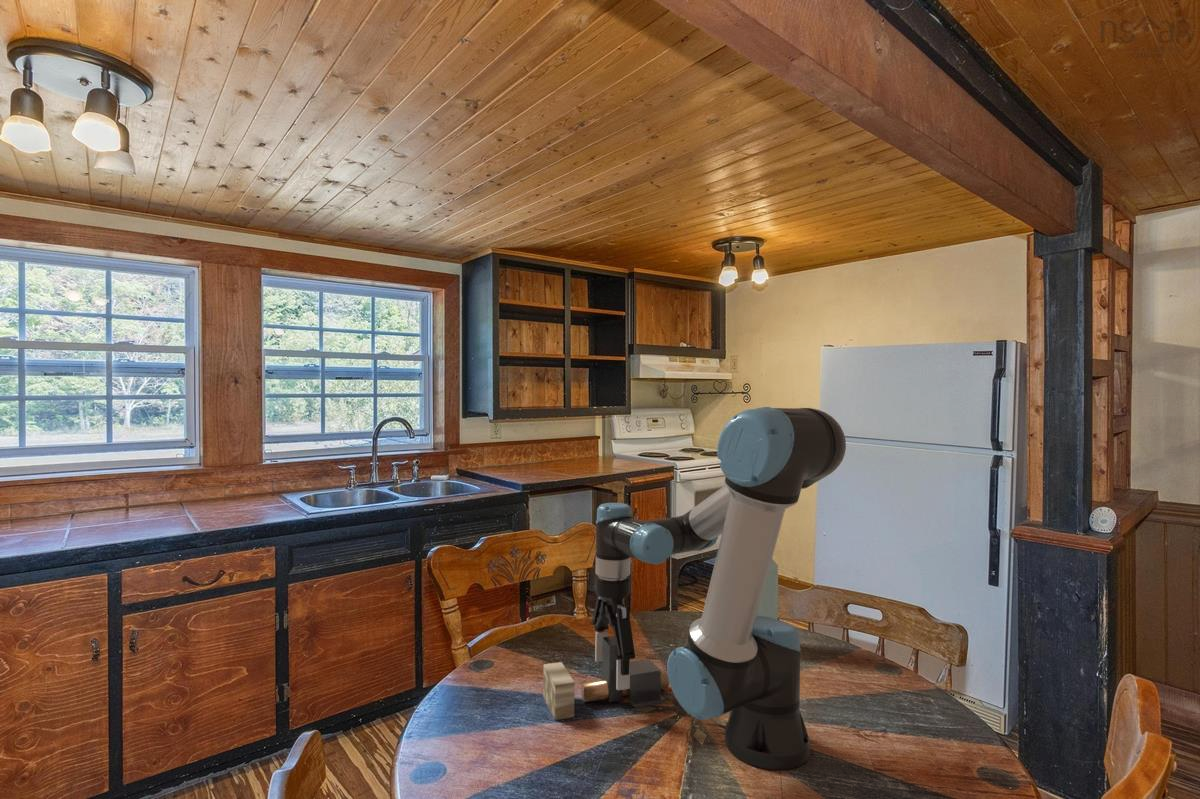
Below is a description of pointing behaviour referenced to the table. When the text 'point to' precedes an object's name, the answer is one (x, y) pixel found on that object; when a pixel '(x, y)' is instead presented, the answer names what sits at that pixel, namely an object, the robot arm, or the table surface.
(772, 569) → the water bottle
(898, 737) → the table surface
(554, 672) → the socket block
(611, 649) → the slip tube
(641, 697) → the grey block
